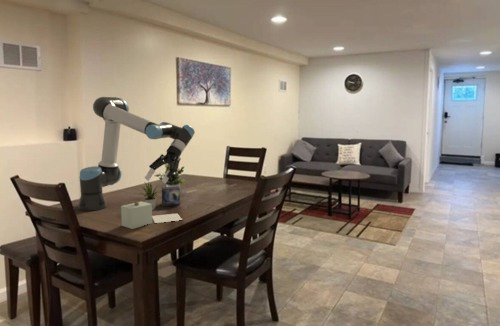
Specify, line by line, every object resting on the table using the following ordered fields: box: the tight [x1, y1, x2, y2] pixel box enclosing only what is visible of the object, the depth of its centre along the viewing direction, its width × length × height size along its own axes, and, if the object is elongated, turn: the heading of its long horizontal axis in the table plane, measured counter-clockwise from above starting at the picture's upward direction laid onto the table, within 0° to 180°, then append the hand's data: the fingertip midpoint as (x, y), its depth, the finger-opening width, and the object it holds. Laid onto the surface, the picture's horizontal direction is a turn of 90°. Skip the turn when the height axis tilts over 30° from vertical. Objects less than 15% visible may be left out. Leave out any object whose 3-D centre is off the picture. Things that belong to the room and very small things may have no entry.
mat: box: [152, 213, 183, 224], centre depth 192 cm, size 14×13×1 cm
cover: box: [120, 201, 153, 230], centre depth 181 cm, size 12×8×11 cm
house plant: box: [138, 181, 159, 211], centre depth 210 cm, size 14×14×16 cm
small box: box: [161, 186, 181, 207], centre depth 220 cm, size 11×6×10 cm, turn 105°
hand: (154, 180), depth 187 cm, fingers open, 13 cm apart
